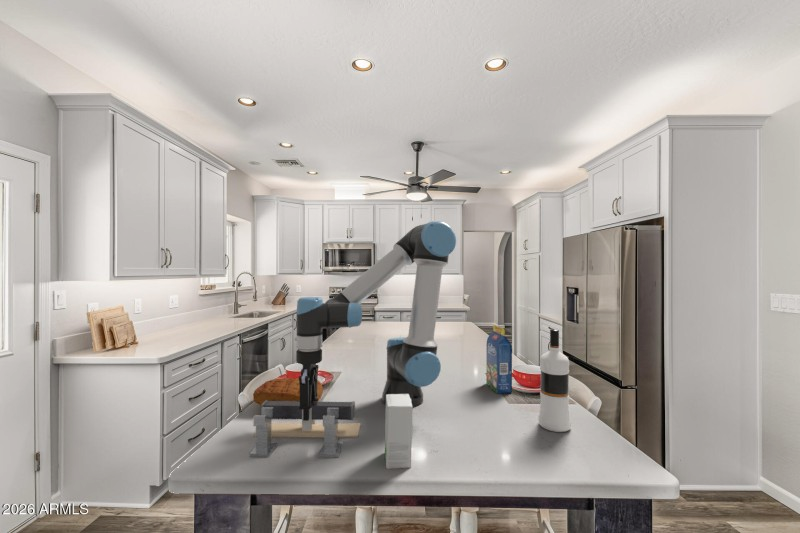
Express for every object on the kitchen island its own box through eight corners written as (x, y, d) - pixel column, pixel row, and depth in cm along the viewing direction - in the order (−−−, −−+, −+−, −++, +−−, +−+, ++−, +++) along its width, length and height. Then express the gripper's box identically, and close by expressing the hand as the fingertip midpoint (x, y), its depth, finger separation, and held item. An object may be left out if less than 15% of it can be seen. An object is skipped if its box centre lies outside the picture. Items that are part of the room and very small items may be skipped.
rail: (354, 415, 110) (354, 401, 110) (352, 420, 106) (353, 405, 106) (265, 414, 110) (265, 400, 110) (261, 419, 106) (261, 404, 106)
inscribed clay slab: (248, 414, 120) (248, 390, 120) (269, 396, 137) (269, 375, 137) (313, 416, 119) (313, 391, 119) (326, 397, 136) (326, 376, 136)
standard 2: (342, 445, 99) (342, 407, 99) (338, 457, 93) (338, 416, 93) (324, 445, 99) (324, 407, 99) (318, 457, 93) (319, 416, 93)
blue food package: (500, 383, 153) (500, 324, 153) (512, 393, 141) (512, 329, 141) (486, 383, 152) (486, 324, 152) (496, 393, 140) (496, 329, 140)
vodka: (531, 423, 114) (532, 328, 114) (552, 418, 118) (553, 326, 118) (556, 435, 105) (556, 333, 105) (577, 429, 109) (578, 330, 109)
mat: (360, 425, 112) (360, 423, 112) (357, 437, 104) (357, 435, 104) (264, 424, 112) (264, 423, 112) (253, 436, 104) (253, 435, 104)
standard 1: (277, 445, 99) (277, 407, 99) (268, 457, 93) (268, 416, 93) (259, 445, 99) (259, 407, 99) (249, 456, 93) (249, 416, 93)
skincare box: (384, 452, 96) (384, 393, 96) (409, 451, 96) (409, 392, 96) (386, 469, 87) (386, 405, 87) (413, 468, 88) (413, 404, 88)
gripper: (304, 342, 116) (303, 415, 116) (288, 355, 100) (287, 440, 100) (327, 343, 116) (327, 415, 116) (315, 355, 100) (314, 440, 100)
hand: (308, 426), depth 108 cm, fingers closed on rail, 3 cm apart
